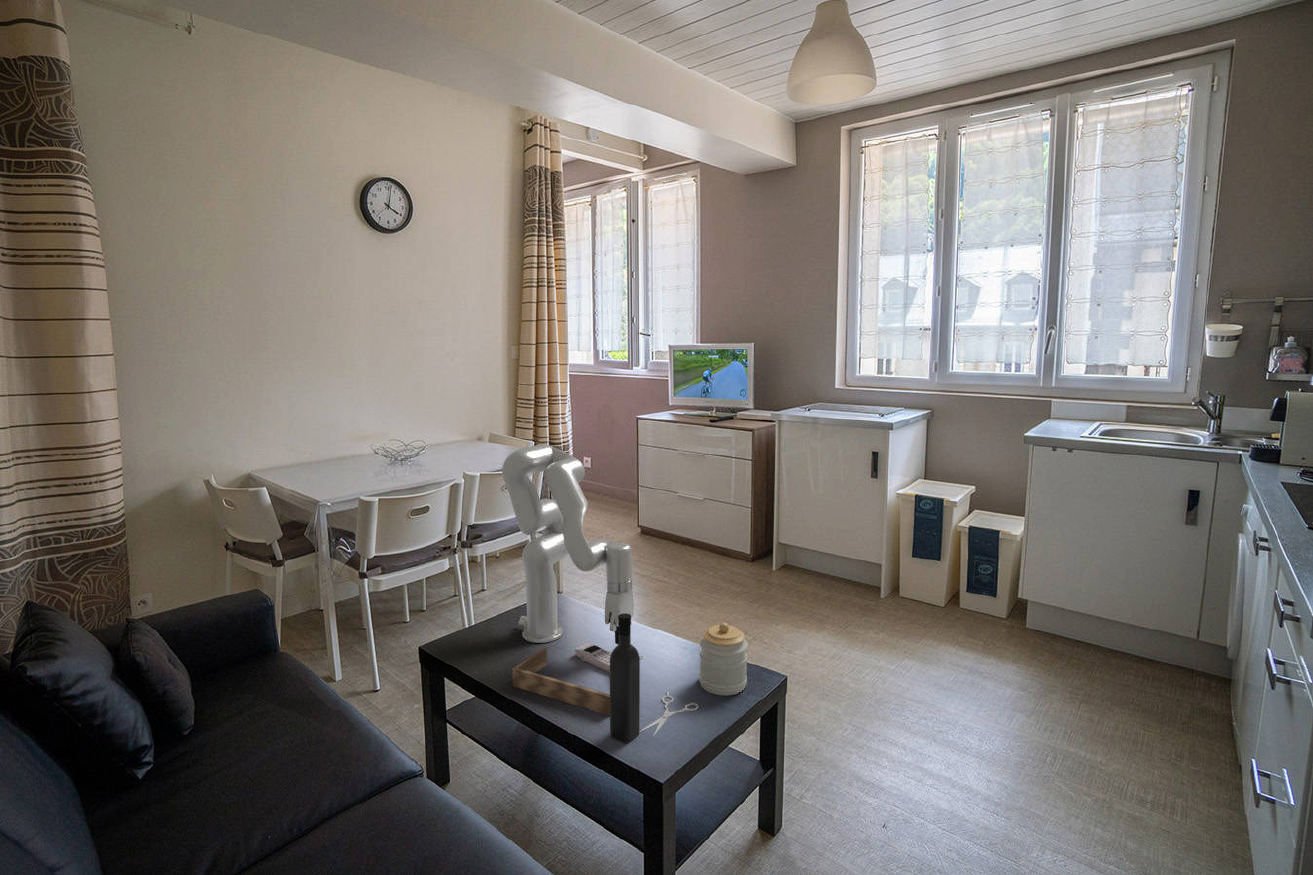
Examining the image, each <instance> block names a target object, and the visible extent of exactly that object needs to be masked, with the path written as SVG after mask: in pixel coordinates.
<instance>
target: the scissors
mask: <svg viewBox="0 0 1313 875" xmlns="http://www.w3.org/2000/svg"><path fill="white" fill-rule="evenodd" d="M667 698H670V701H665V699H667ZM674 700H675V699H674V697H673V696H671V695H670V692H669V691H666V695H664V696H663V697H662V698H661V702H662V703H663V704H664V708H665V711H664V713H663V715H662V716H661V717H659V718H657V719H656V720H654V721H653V722H652V723H650V724H648V725H646V726H644V728H642V729H641V730H640V732H639V733H641V732H642V731H644V730H647V729H648V728H651V727H653V726H654V725H657V724H658V725H657V727H656V729H655V731H654V734H653V736H652V737H655V735H656V734H657V733H658V731H659V730H660V729H661V728H662V727H663V725H664V724H665V722H666V721H667V720H668V718H670V717H673V716H675V715H676V714H679V713H680V714H682V713H683V712H693V711H696V710H698V709H699V705H698V703H695V702H691V703H687V704H685V705H684V708H683V709H681V710H677V711H676V710H675V711H670V710H669V708H668V706H669V705H670V704H673V703H674V702H675V701H674ZM690 706H695V708H688V707H690Z"/></svg>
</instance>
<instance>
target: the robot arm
mask: <svg viewBox="0 0 1313 875" xmlns="http://www.w3.org/2000/svg"><path fill="white" fill-rule="evenodd" d="M585 470H586V469H585V465H583V463H582V461H580V459H578V458H577V457H575V456H573V455H572V454H569V453H567V452H564V451H563V450H561V449H559V448H557V447H555V446H552V445H549V444H544V443H542V444H536V445H531V446H527V447H524V448H520V449H518V450H515V451H513V452H511V453H510V454H509V455H508V456H507V457H506V458H505V460H504V462H503V464H502V469H501V475H502V479H503V482H504V484H505V487H506V489H507V492H508V495H509V497H510V498H509V499H510V501H511V505H512V509H513V512H514V516H515V519H516V523H517V526H518V528H519V530H520V532H521V533H523V534H524V535H526V536H534V535H536V534H539V533H541V534H542V535H540V536H538V537H536V538H534V539H532V540H530V541H529V542H528V543H526V545H525V546H524V548H523V550H522V553H521V554H522V557H521V558H522V563H523V567H524V572H525V573H524V574H525V589H526V597H525V598H526V615H520V618H519V621H518V625H519V626H523V627H524V629H523V630H522V632H521V634H522V638H523V639H524V640H525V641H527V642H530V643H535V644H536V643H537V644H539V643H541V644H543V643H550V642H554V641H555V640H556V641H557V640H558V639H559V638H561V637H562V636H563V633H564V632H563V627H561V625H559V623H558V583H557V582H558V580H557V575H556V573H555V571H554V568H553V565H554V564H556V563H558V562H559V561H561V560H563V559H564V558H566V557H567V556H568V555H569V558H570V559H571V561H572V563H573V565H574V566H575V567H576V568H577V569H578V570H580V571H581V572H585V573H586V572H587V573H588V572H592V571H594V570H596V569H597V568H598V567H600V566H603V565H605V566H606V568H605V569H606V570H605V572H606V591H607V592H606V593H605V603H604V623H605V625H609V632H614V643H615V644H616V645H619V625H618V621H619V620H618V616H619V615H620V614H623V613H627V614H630V615H631V618H632V617H633V616H634V613H635V612H634V606H635V604H634V603H635V602H634V593H633V563H632V562H633V561H632V560H633V558H632V557H633V555H632V547H631V545H630V544H628V543H626V542H622V541H621V542H620V541H619V542H616V541H613V540H609V539H607V538H603V537H599V538H596V539H593V540H591V541H589V542H588V541H587V539H586V536H585V533H584V528H583V527H584V526H583V524H584V519H585V517H586V513H587V511H588V508H589V502H588V500H587V498H586V497H585V494H584V492H583V491H582V488H581V486H580V484H579V483H580V482H582V481H583V479H584V478H585V475H586V471H585ZM541 472H544V473H543V476H544V480H545V483H546V484H547V487H548V489H549V491H550V493H551V495H552V497H553V499H554V500H553V499H550V498H542V499H540V497H539V496H540V495H539V492H538V489H537V487H536V485H535V483H534V482H533V481H532V480H531V478H530V476H531V475H534V474H539V473H541Z"/></svg>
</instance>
